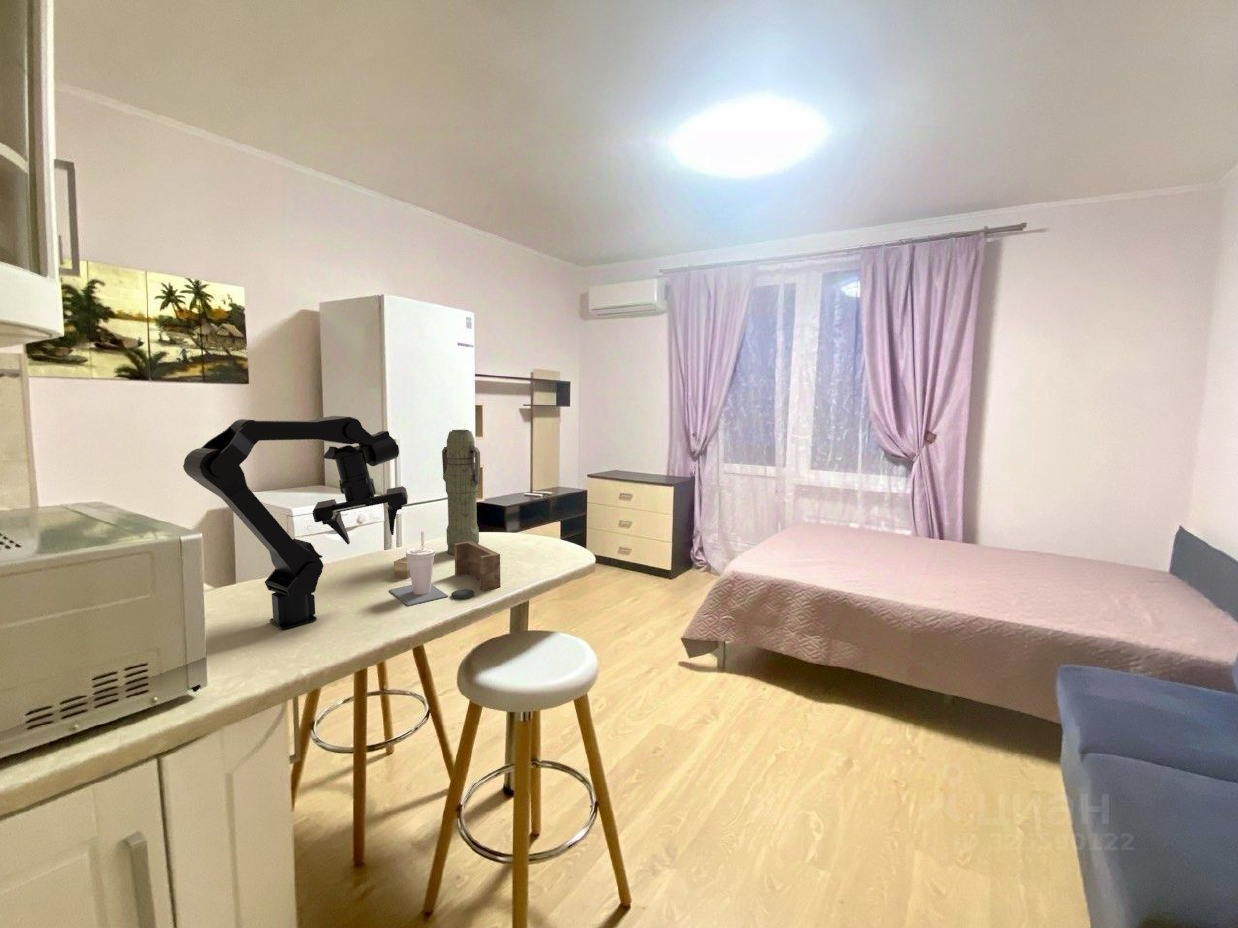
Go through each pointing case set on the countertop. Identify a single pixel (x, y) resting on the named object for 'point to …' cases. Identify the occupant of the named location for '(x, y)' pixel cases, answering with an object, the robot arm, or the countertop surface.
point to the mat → (412, 599)
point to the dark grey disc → (462, 594)
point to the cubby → (478, 563)
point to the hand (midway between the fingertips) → (370, 538)
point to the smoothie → (421, 567)
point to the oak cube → (401, 568)
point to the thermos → (461, 487)
